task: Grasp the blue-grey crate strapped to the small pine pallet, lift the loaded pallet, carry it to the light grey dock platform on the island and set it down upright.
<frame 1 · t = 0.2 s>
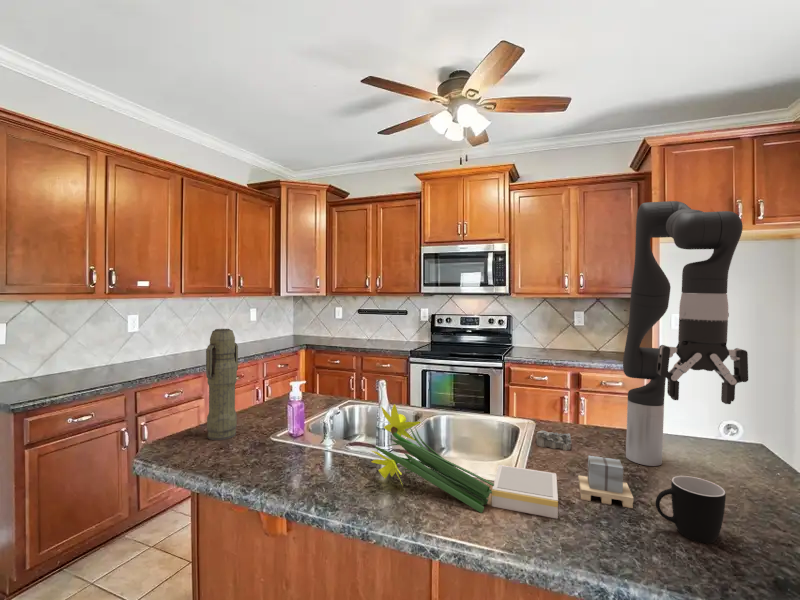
hand: (699, 401, 79), 29 cm above the countertop, fingers open, 8 cm apart
pallet: (604, 495, 99), on the countertop
thermos: (222, 435, 135), on the countertop
egg carton: (553, 446, 132), on the countertop
daffodil flowers: (429, 488, 102), on the countertop
mug: (687, 533, 84), on the countertop
dock: (525, 497, 98), on the countertop
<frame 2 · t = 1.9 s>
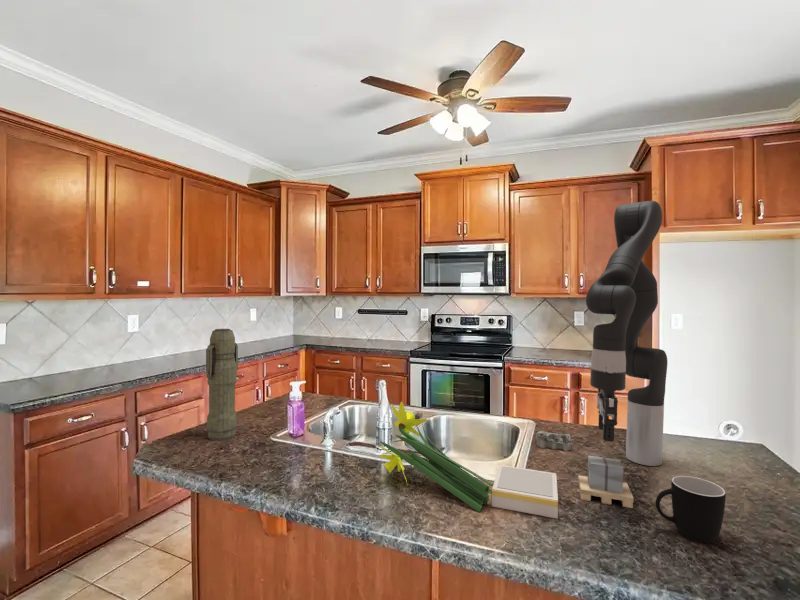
hand: (605, 434, 99), 15 cm above the countertop, fingers open, 8 cm apart
daffodil flowers: (433, 485, 103), on the countertop, touching dock
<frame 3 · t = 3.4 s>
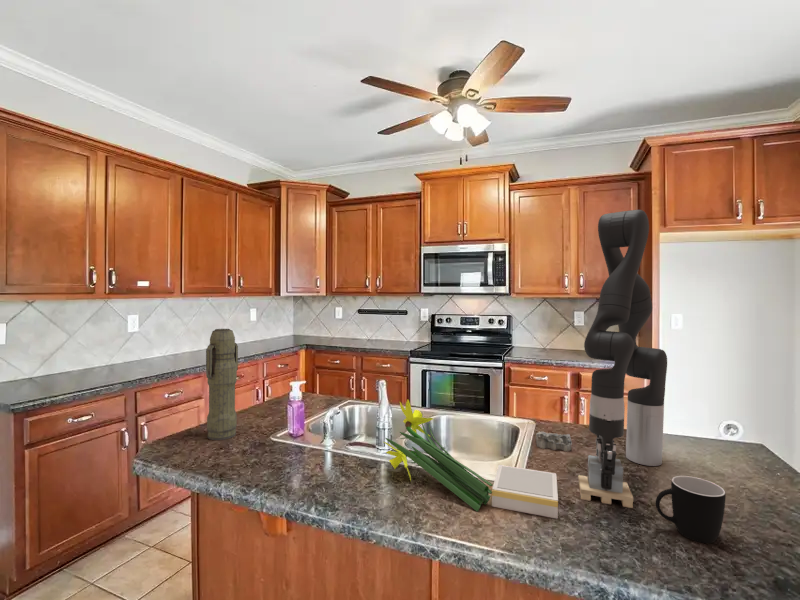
hand: (604, 483, 99), 3 cm above the countertop, fingers closed on pallet, 5 cm apart
pallet: (604, 495, 99), on the countertop, touching gripper
daffodil flowers: (437, 483, 105), on the countertop
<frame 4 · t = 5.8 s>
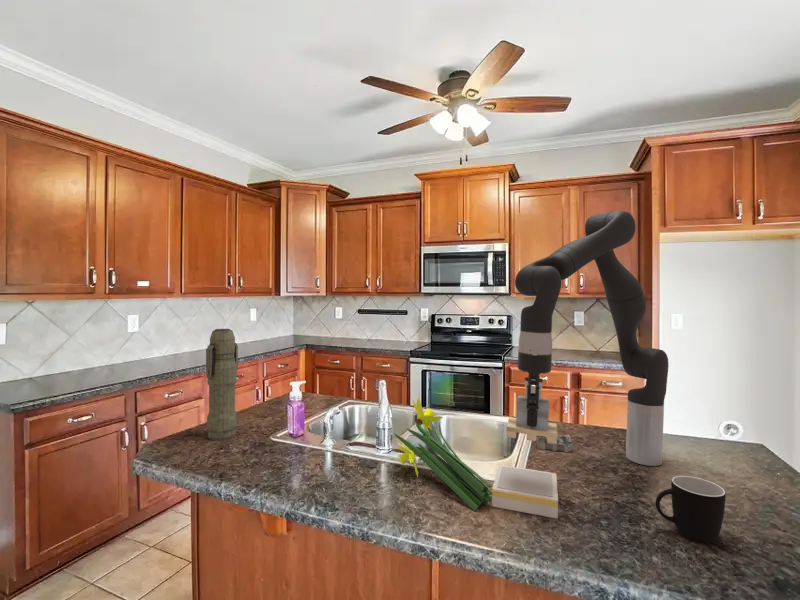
hand: (532, 422, 97), 18 cm above the countertop, fingers closed on pallet, 5 cm apart
pallet: (531, 435, 97), point 15 cm above the countertop, touching gripper
daffodil flowers: (443, 481, 106), on the countertop
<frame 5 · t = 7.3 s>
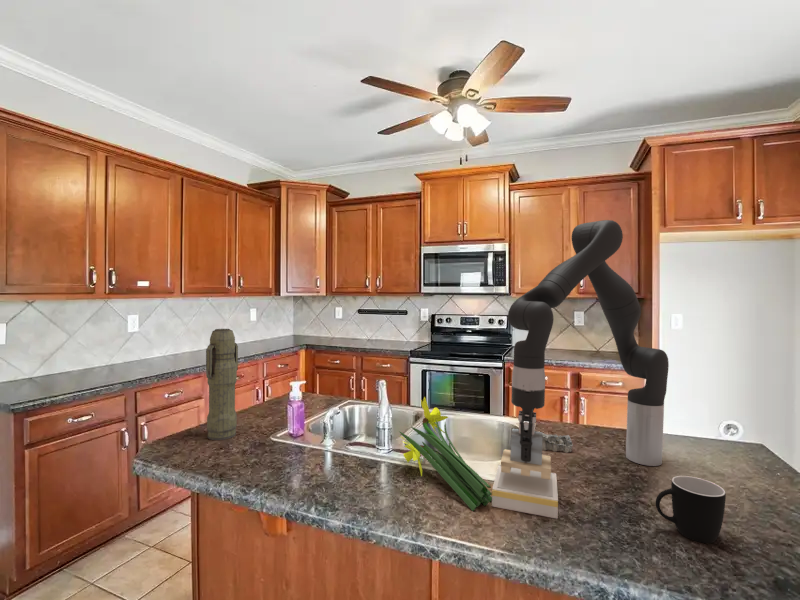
hand: (526, 455, 98), 10 cm above the countertop, fingers closed on pallet, 5 cm apart
pallet: (526, 468, 98), point 7 cm above the countertop, touching gripper
daffodil flowers: (446, 481, 106), on the countertop
when the fingers open (7 cm above the countertop, at t = 8.3 s): pallet stays where it is, resting on dock.
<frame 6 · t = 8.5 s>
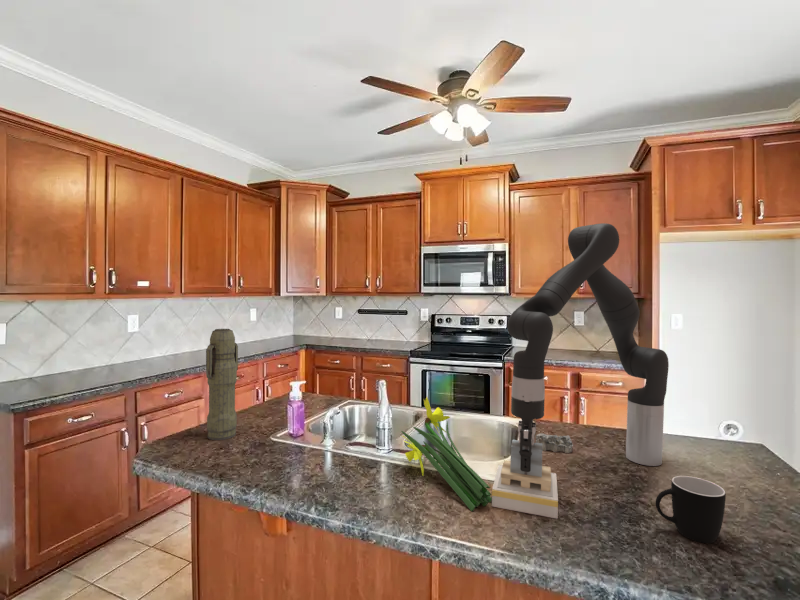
hand: (526, 464, 98), 8 cm above the countertop, fingers open, 7 cm apart
pallet: (526, 480, 98), point 4 cm above the countertop, touching dock
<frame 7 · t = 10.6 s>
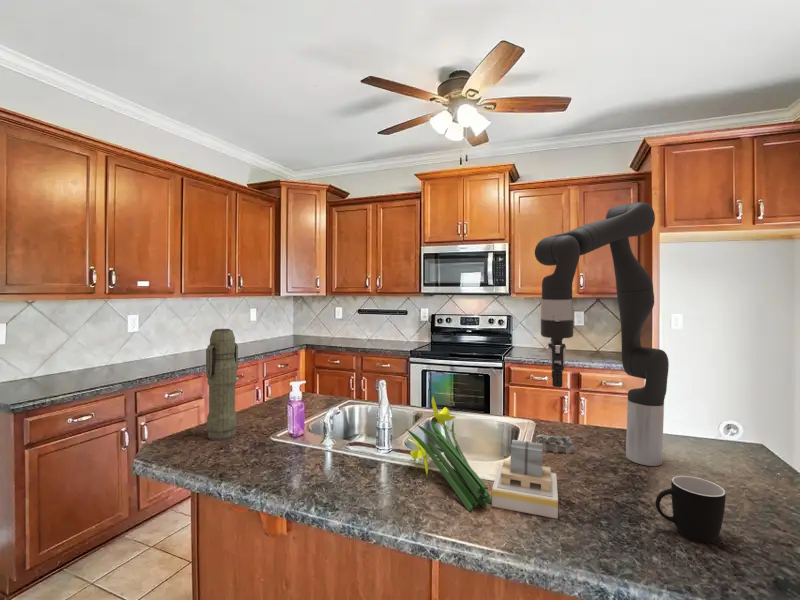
hand: (556, 382, 102), 27 cm above the countertop, fingers open, 8 cm apart
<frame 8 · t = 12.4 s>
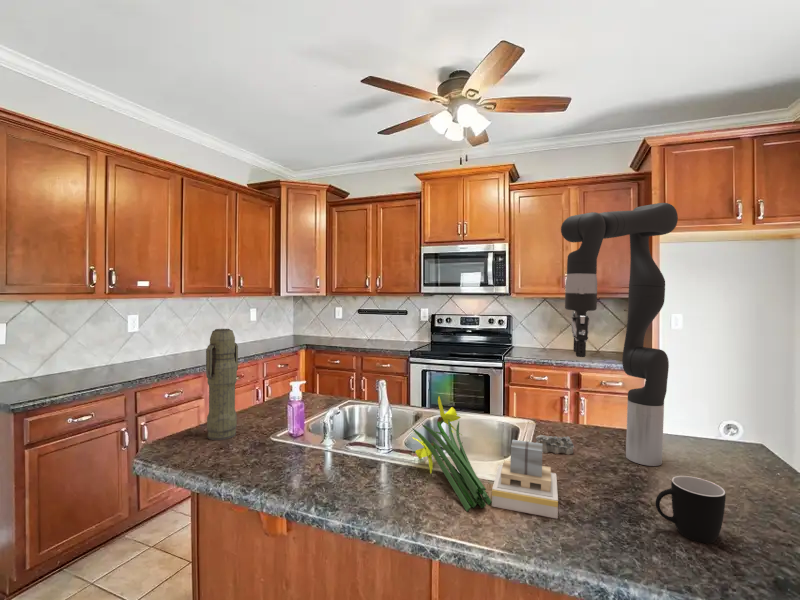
hand: (579, 354, 106), 33 cm above the countertop, fingers open, 8 cm apart
at the end: pallet inside the target area on the dock (0.1 cm from its centre), point 4.1 cm above the dock's base; pallet tilted 0°; the gripper is holding nothing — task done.
